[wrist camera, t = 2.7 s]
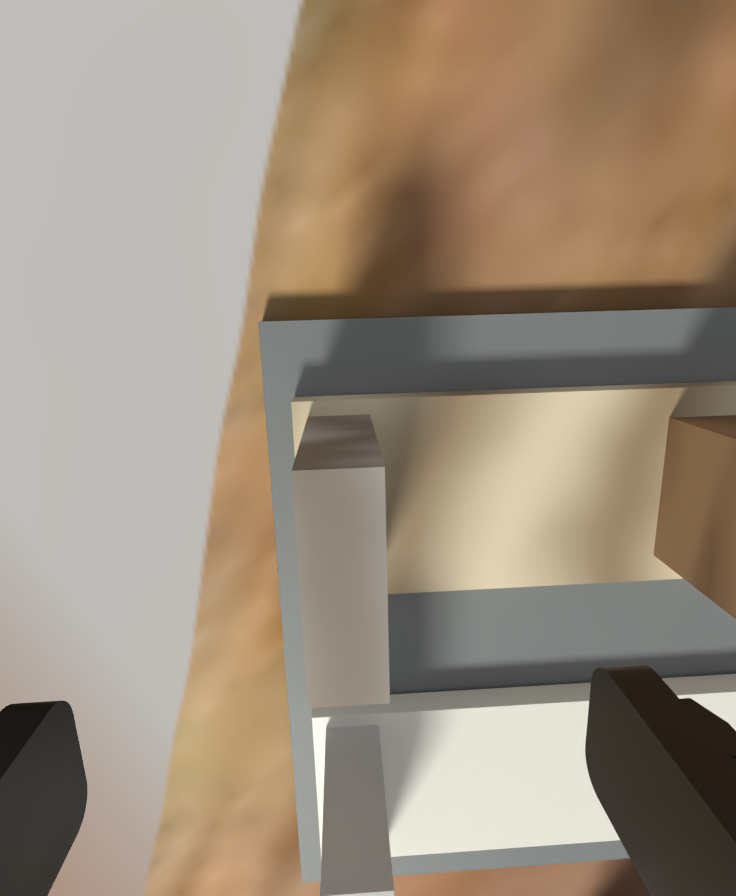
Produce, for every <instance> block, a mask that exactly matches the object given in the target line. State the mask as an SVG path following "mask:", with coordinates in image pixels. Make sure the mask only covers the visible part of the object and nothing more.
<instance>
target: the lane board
mask: <svg viewBox="0 0 736 896" xmlns="http://www.w3.org/2000/svg"><path fill="white" fill-rule="evenodd" d="M258 323H259V336H260V349H261V361H262V374H263V387H264V400H265V413H266V425H267V438H268V451H269V464H270V477H271V489H272V502H273V515H274V528H275V541H276V553H277V566H278V579H279V592H280V605H281V617H282V630H283V643H284V656H285V669H286V681H287V694H288V707H289V720H290V733H291V745H292V758H293V771H294V784H295V797H296V809H297V822H298V835H299V848H300V861H301V873H302V883H305V882H319V881H321V850H320V834H319V819H318V804H317V789H316V773H315V758H314V743H313V728H312V709H313V708H307V694H306V679H305V664H304V649H303V634H302V620H301V605H300V590H299V575H298V561H297V546H296V531H295V516H294V501H293V487H292V472H291V471H292V467H293V464H294V461H295V453H294V438H293V423H292V407H291V401H292V399H293V397H307V396H335V395H362V394H390V393H417V392H444V391H472V390H499V389H527V388H554V387H582V386H609V385H636V384H664V383H691V382H719V381H736V307H714V308H681V309H648V310H615V311H583V312H550V313H517V314H484V315H451V316H418V317H385V318H353V319H320V320H287V321H260V322H258ZM388 637H389V682H390V695H391V694H408V693H424V692H441V691H458V690H474V689H491V688H508V687H524V686H541V685H557V684H574V683H591V678H592V674H593V672H594V670H595V669H596V668H598V667H613V666H628V665H647V666H649V667H651V668H652V669H653V670H654V671H655V672H656V673H657V674H658V675H659V676H660V677H661V678H674V677H690V676H707V675H723V674H736V619H735V618H733V617H732V616H731V615H729V614H728V613H727V612H726V611H724V610H723V609H722V608H720V607H719V606H718V605H717V604H715V603H714V602H713V601H712V600H710V599H709V598H708V597H706V596H705V595H704V594H703V593H701V592H700V591H699V590H697V589H696V588H695V587H694V586H692V585H691V584H690V583H688V582H687V581H686V580H685V579H668V580H649V581H630V582H611V583H592V584H573V585H553V586H534V587H515V588H496V589H477V590H458V591H439V592H420V593H400V594H388ZM627 858H630V857H629V855H628V853H627V851H626V850H625V848H624V846H623V844H622V842H621V840H616V841H603V842H589V843H575V844H562V845H548V846H534V847H520V848H507V849H493V850H479V851H466V852H452V853H438V854H425V855H411V856H397V857H391V864H392V874H393V876H399V875H413V874H426V873H439V872H453V871H466V870H480V869H493V868H507V867H520V866H533V865H547V864H560V863H574V862H587V861H600V860H614V859H627Z"/></svg>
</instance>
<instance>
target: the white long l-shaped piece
mask: <svg viewBox="0 0 736 896" xmlns="http://www.w3.org/2000/svg"><path fill="white" fill-rule="evenodd" d="M662 680H663V681H664V682H665V683H666V684H667V685H668V686H669V688H670V689H671V690H672V691H673V692H674V693H675V694H676V695H677V697H678V698H679V699H683V698H691V699H693V700H694V701H696V702H697V703H699V704H700V705H702V706H703V707H705V708H706V709H708V710H709V711H711V712H712V713H714V714H715V715H717V716H718V717H720V718H721V719H723V720H725V721H726V722H728V723H729V724H730V725H731V726H732V727H733V729H734V730H735V731H736V674H723V675H707V676H690V677H674V678H662ZM590 687H591V683H574V684H557V685H541V686H524V687H508V688H491V689H474V690H458V691H441V692H424V693H408V694H391V695H390V703H387V704H371V705H354V706H338V707H322V708H313V709H312V728H313V743H314V758H315V773H316V789H317V804H318V819H319V834H320V850H321V888H320V896H394V885H393V874H392V864H391V857H397V856H411V855H425V854H438V853H452V852H466V851H479V850H493V849H507V848H520V847H534V846H548V845H562V844H575V843H589V842H603V841H616V840H620V838H619V837H618V835H617V833H616V831H615V829H614V827H613V825H612V824H611V822H610V820H609V818H608V816H607V814H606V812H605V811H604V809H603V807H602V805H601V803H600V801H599V799H598V797H597V795H596V793H595V791H594V789H593V786H592V783H591V780H590V777H589V773H588V769H587V764H586V756H585V743H586V732H587V721H588V710H589V698H590Z"/></svg>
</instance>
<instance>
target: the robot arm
mask: <svg viewBox="0 0 736 896" xmlns="http://www.w3.org/2000/svg"><path fill="white" fill-rule="evenodd" d="M585 756H586V764H587V769H588V773H589V777H590V780H591V783H592V786H593V789H594V791H595V793H596V795H597V797H598V799H599V801H600V803H601V805H602V807H603V809H604V811H605V812H606V814H607V816H608V818H609V820H610V822H611V824H612V825H613V827H614V829H615V831H616V833H617V835H618V837H619V838H620V840H621V842H622V844H623V846H624V848H625V850H626V851H627V853H628V855H629V857H630V859H631V861H632V863H633V865H634V866H635V868H636V870H637V872H638V874H639V876H640V878H641V879H642V881H643V883H644V885H645V887H646V889H647V891H648V892H649V894H650V896H736V731H735V730H734V729H733V727H732V726H731V725H730V724H729V723H728V722H726V721H725V720H723V719H721V718H720V717H718V716H717V715H715V714H714V713H712V712H711V711H709V710H708V709H706V708H705V707H703V706H702V705H700V704H699V703H697V702H696V701H694V700H693V699H691V698H683V699H679V698H678V697H677V695H676V694H675V693H674V692H673V691H672V690H671V689H670V688H669V686H668V685H667V684H666V683H665V682H664V681H663V680H662V678H661V677H660V676H659V675H658V674H657V673H656V672H655V671H654V670H653V669H652V668H651V667H649V666H647V665H628V666H613V667H598V668H596V669H595V670H594V672H593V674H592V678H591V687H590V698H589V710H588V721H587V732H586V743H585ZM86 801H87V781H86V776H85V771H84V766H83V760H82V755H81V750H80V745H79V741H78V736H77V730H76V726H75V721H74V715H73V711H72V708H71V706H70V705H69V703H67V702H66V701H50V702H35V703H21V704H20V703H19V704H10V705H8V706H6V707H5V708H4V709H2V710H1V711H0V896H47V895H48V893H49V891H50V889H51V887H52V885H53V883H54V881H55V879H56V877H57V875H58V873H59V871H60V869H61V867H62V865H63V863H64V860H65V858H66V856H67V854H68V852H69V850H70V848H71V846H72V844H73V842H74V840H75V838H76V836H77V834H78V832H79V829H80V826H81V823H82V820H83V817H84V813H85V808H86Z"/></svg>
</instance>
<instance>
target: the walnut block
mask: <svg viewBox="0 0 736 896" xmlns="http://www.w3.org/2000/svg"><path fill="white" fill-rule="evenodd" d="M653 555H654V556H655V557H656V558H658V559H659V560H660V561H662V562H663V563H664V564H665V565H667V566H668V567H669V568H671V569H672V570H673V571H674V572H676V573H677V574H678V575H680V576H681V577H682V578H683V579H685V580H686V581H687V582H688V583H690V584H691V585H692V586H694V587H695V588H696V589H697V590H699V591H700V592H701V593H703V594H704V595H705V596H706V597H708V598H709V599H710V600H712V601H713V602H714V603H715V604H717V605H718V606H719V607H720V608H722V609H723V610H724V611H726V612H727V613H728V614H729V615H731V616H732V617H733V618H735V619H736V415H725V416H700V417H674V418H669V423H668V432H667V441H666V449H665V458H664V467H663V476H662V484H661V493H660V502H659V511H658V519H657V528H656V537H655V545H654V554H653Z"/></svg>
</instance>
